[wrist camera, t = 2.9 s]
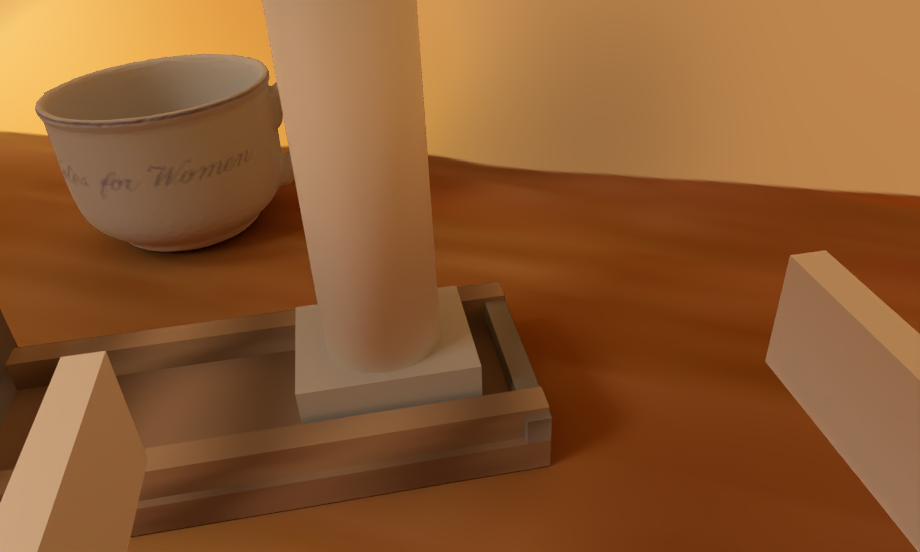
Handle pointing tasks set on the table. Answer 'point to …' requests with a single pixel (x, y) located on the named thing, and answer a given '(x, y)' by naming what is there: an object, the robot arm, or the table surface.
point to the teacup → (170, 148)
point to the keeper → (365, 212)
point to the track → (283, 418)
